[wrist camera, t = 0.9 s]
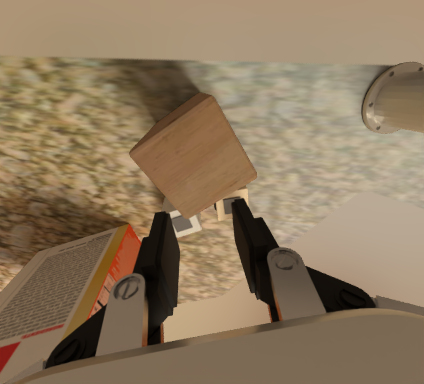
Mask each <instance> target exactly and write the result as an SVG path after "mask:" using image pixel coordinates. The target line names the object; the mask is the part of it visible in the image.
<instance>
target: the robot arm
mask: <svg viewBox="0 0 424 384" xmlns="http://www.w3.org/2000/svg"><path fill="white" fill-rule="evenodd" d="M362 113H363V120H364V123H365V125H366V126H367V127H368V128H369V129H370V130H371V131H374V132H377V133H381V134H387V133H392V132H395V131H398V130H400V129H405V130H411V131H416V132H422V133H424V65H422V64H420V63H417V62H406V63H401V64H398V65H395V66H393V67H391V68H389V69H388V70H386V71H385V72H384V73H383V74H381V75H380V76H379V78H378V79H377V80H376V81H375V82H374V83H373V85H372V86H371V88H370V89H369V91H368V93H367V95H366V98H365V100H364V104H363V112H362ZM231 207H232V217H233V227H234V237H235V243H236V246H237V249H238V253H239V256H240V259H241V263H242V266H243V269H244V272H245V276H246V279H247V282H248V285H249V289H250V292H251V293H255V295H256V298H257V300H258V299H260V300H261V301H263V302H265V303H267V305H268V311H269V315H270V320H271V323H267V324H262V325H257V326H251V327H245V328H240V329H235V330H230V331H224V332H219V333H213V334H208V335H203V336H198V337H193V338H187V339H182V340H176V341H172V342H166V343H164V330H163V322H164V320H165V319H166V318H167V317H168V316H172V315H173V308H174V307H177V298H178V279H179V261H180V249H179V245H178V242H177V238H176V234H175V231H174V227H173V223H172V220H171V216H170V213H166V211H162V212H157V213H155V215H154V219H153V223H152V226H151V230H150V234H149V237H144V238H143V240H142V243H141V246H140V249H139V253H138V256H137V259H136V262H135V266H134V269H133V272H132V274H129V275H126V276H124V277H122V278H121V279H119V280H118V281H117V282H116V283H115V284H114V285H113V287H112V288H111V291H110V294H109V298H108V303H107V304H106V305H104V306H103V307H102V308H101V309H100V310H98V311H97V312H96V313H95V314H94V315H92V316H91V317H90V318H89V319H88V320H86V321H85V322H84V323H83V324H81V325H80V326H79V327H78V328H77V329H75V330H74V331H73V332H72V333H71V334H69V335H68V336H67V337H66V338H65V339H63V340H62V341H61V342H60V343H59V344H58V345H57V346H56V347H55V348H54V350H53V351H52V352H51V354H50V356H49V358H48V359H46V360H44V359H43V358H42V359H40V360H39V361H37V362H36V363H34V364H33V365H31V366H30V367H28V368H27V369H25V370H23V371H22V372H20V373H19V374H17V375H16V376H14V377H13V378H11V379H10V380H8V381H6V382H5V383H3V384H424V307H420V306H416V305H412V304H408V303H404V302H400V301H396V300H392V299H389V298H385V297H380V296H376V298H373V297H370V296H369V295H368V294H367V293H366V292H364V291H363V290H362V289H360V288H358V287H356V286H353V285H351V284H349V283H346V282H344V281H341V280H339V279H336V278H334V277H332V276H329V275H327V274H324V273H322V272H319V271H317V270H314V269H312V268H310V267H307V266H305V265H304V262H303V260H302V258H301V257H300V255H299V254H297V253H296V252H295V251H293V250H291V249H288V248H281V247H279V246H278V244H277V242H276V241H275V239H274V237H273V235H272V234H271V232H270V230H269V228H268V227H267V225H266V223H265V221H264V220H263V218H262V217H260V218H254V217H253V215H252V213H251V211H250V209H249V207H248V205H247V203H246V201H245V199H244V198H240V199H234V202H231Z"/></svg>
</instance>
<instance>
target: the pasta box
mask: <svg viewBox="0 0 424 384" xmlns="http://www.w3.org/2000/svg"><path fill="white" fill-rule="evenodd" d="M140 246H141V242H140V240H139V239H138V237H137V236H136V234H135V232H134V231H133V229H132V227H131V226H130V224H126V225H123V226H120V227H116V228H113V229H110V230H107V231H103V232H100V233H97V234H94V235H91V236H87V237H84V238H81V239H78V240H74V241H71V242H68V243H65V244H61V245H58V246H55V247H52V248H48V249H45V250H42V251H39V252H37V254H36V255H35V256H34V257H33V258H32V259H31V260H30V261H29V262H28V263H27V264H26V265H25V266H24V268H23V269H22V270H21V271H20V272H19V273H18V274H17V275H16V276H15V277H14V278H13V279H12V280H11V282H10V283H9V284H8V285H7V286H6V287H5V288H4V289H3V290H2V291H1V292H0V384H3V383H5V382H6V381H8V380H10V379H11V378H13V377H14V376H16V375H17V374H19V373H20V372H22V371H23V370H25V369H27V368H28V367H30V366H31V365H33V364H34V363H36V362H37V361H39V360H40V359H42V358H43V359H44V360H46V359H48V358H49V356H50V354H51V352H52V351H53V350H54V348H55V347H56V346H57V345H58V344H59V343H60V342H61V341H62V340H63V339H65V338H66V337H67V336H68V335H69V334H71V333H72V332H73V331H74V330H75V329H77V328H78V327H79V326H80V325H81V324H83V323H84V322H85V321H86V320H88V319H89V318H90V317H91V316H92V315H94V314H95V313H96V312H97V311H98V310H100V309H101V308H102V307H103V306H104V305H106V304H107V303H108V298H109V294H110V291H111V288H112V287H113V285H114V284H115V283H116V282H117V281H118V280H119V279H121V278H122V277H124V276H126V275H129V274H132V272H133V269H134V266H135V262H136V259H137V256H138V253H139V249H140Z"/></svg>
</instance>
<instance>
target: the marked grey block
mask: <svg viewBox="0 0 424 384" xmlns="http://www.w3.org/2000/svg"><path fill="white" fill-rule="evenodd" d="M162 211H166V213H170V216H171V220H172V223H173V227H174V231H175V234H176V238H178V237H181V236H184V235H187V234H190V233H193V232H197V231H200V230H202V226H201V215H200V212H199V213H198V214H196V215H194V216H193V217H191V218H189V219H185V218H184V217H183V216H182V215H181V214H180V213H179V211H178V210H177V209H176V208H175V207H174V206H173V205H172V203H171V202H170V201H169V200H168V199H167V198H166V197H165V199H164V203H163V207H162Z"/></svg>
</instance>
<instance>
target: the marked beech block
mask: <svg viewBox="0 0 424 384" xmlns="http://www.w3.org/2000/svg"><path fill="white" fill-rule="evenodd" d="M240 198H244V199H245V201H246V203H247V205H248V191H247V187H246V185H245V186H243V187H241V188H240V189H238V190H236V191H235V192H233V193H231V194H229V195H228V196H226V197H224V198H223V199H221V200H219V201H218V202H216V203H214V207H215V210H216V211H217V216H218V220H219V221H221V220H227V219H233V217H232V207H231V202H234V199H240Z"/></svg>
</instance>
